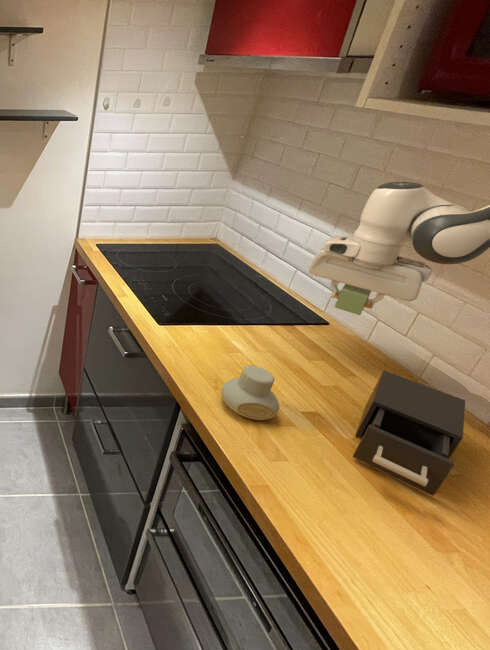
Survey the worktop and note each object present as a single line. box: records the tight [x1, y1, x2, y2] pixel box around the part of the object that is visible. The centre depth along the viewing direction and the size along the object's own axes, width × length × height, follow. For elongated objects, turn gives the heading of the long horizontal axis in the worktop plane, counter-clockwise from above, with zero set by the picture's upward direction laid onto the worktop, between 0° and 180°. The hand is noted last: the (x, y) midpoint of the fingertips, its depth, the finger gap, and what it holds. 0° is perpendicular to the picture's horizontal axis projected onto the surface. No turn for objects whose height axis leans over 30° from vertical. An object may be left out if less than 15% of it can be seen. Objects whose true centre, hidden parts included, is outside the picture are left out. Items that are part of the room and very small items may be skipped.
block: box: [334, 284, 372, 316], centre depth 109 cm, size 5×5×5 cm
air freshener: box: [221, 365, 280, 421], centre depth 98 cm, size 11×8×10 cm
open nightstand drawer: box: [352, 407, 455, 497], centre depth 85 cm, size 18×11×8 cm, turn 132°
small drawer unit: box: [354, 369, 466, 459], centre depth 92 cm, size 15×13×10 cm
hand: (351, 302), depth 109 cm, fingers closed on block, 5 cm apart
